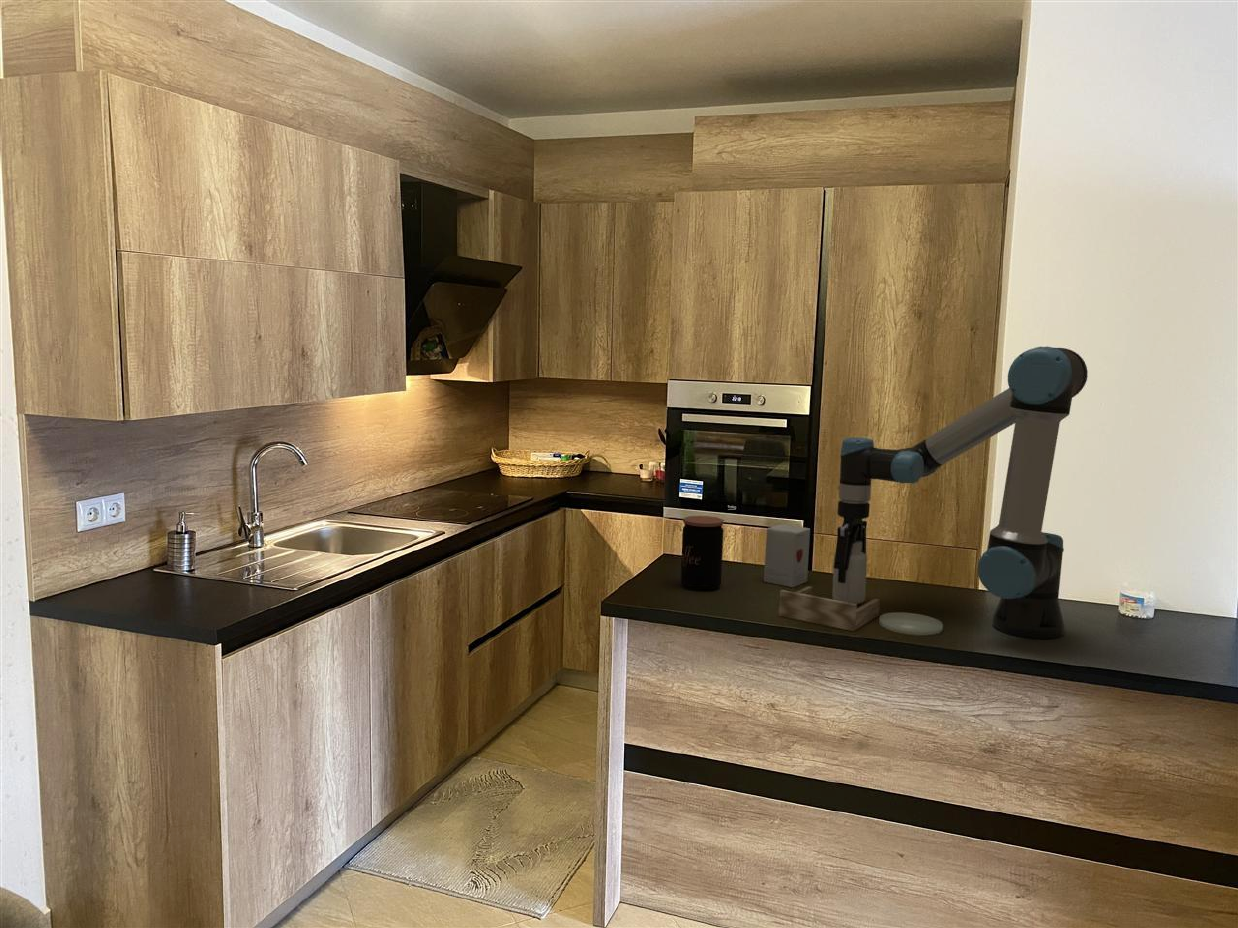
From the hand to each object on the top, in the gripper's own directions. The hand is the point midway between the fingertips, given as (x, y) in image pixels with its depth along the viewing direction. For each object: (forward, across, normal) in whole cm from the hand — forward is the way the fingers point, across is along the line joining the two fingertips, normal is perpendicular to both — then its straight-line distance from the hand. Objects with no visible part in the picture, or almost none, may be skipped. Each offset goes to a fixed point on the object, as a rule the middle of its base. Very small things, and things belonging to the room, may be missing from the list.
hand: (848, 591), depth 228 cm
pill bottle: (+2, 0, 0) cm, 2 cm away
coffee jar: (+4, +8, -37) cm, 38 cm away
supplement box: (+4, -12, -22) cm, 25 cm away
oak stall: (+4, +11, 0) cm, 11 cm away
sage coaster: (+4, +7, +18) cm, 19 cm away
